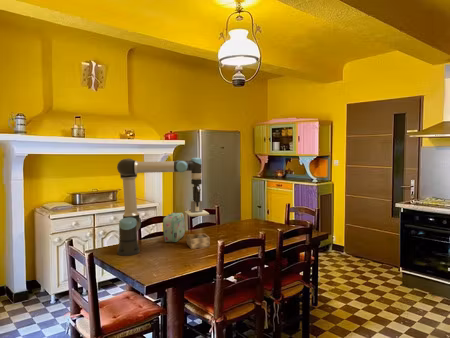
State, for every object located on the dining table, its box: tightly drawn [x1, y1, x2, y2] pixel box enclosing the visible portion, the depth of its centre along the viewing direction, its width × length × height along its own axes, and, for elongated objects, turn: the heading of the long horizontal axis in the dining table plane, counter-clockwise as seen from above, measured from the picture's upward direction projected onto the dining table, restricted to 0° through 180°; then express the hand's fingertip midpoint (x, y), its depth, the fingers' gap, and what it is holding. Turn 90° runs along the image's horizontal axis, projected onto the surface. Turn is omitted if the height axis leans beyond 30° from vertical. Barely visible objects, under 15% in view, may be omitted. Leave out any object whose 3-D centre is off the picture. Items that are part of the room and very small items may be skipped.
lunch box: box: [162, 212, 186, 243], centre depth 277 cm, size 27×10×21 cm, turn 168°
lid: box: [184, 200, 210, 218], centre depth 258 cm, size 15×15×10 cm
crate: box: [186, 233, 211, 250], centre depth 260 cm, size 14×14×7 cm
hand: (196, 210), depth 258 cm, fingers closed on lid, 3 cm apart
